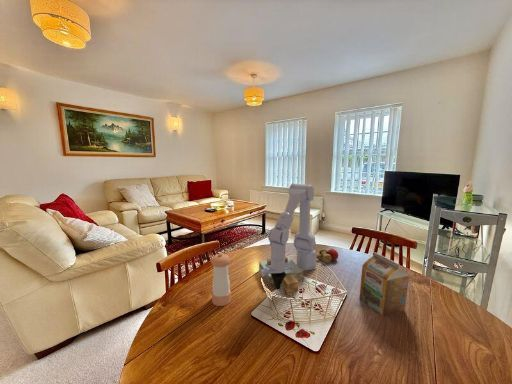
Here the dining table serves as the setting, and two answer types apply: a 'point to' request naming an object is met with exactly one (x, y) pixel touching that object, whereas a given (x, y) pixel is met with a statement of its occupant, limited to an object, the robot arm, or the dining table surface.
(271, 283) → the toolbox
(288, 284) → the tan block
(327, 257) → the kendama
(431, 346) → the dining table surface
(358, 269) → the dining table surface
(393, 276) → the milk carton
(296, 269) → the lid
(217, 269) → the salt shaker
